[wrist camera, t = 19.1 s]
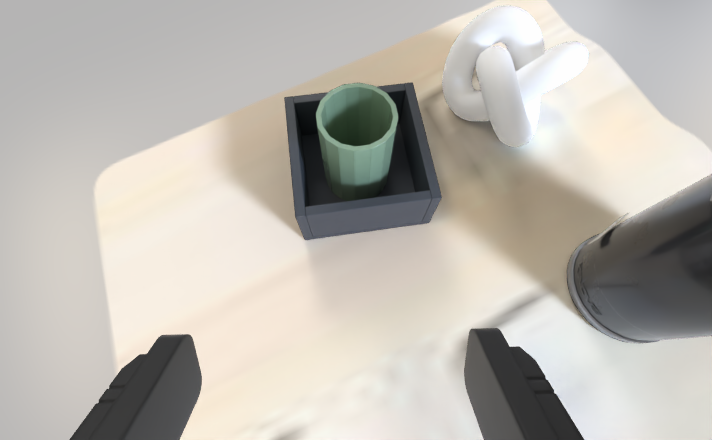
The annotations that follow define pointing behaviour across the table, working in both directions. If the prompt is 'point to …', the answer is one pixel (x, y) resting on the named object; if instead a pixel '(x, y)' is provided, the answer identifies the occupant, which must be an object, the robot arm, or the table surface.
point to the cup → (357, 139)
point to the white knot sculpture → (507, 72)
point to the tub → (387, 210)
